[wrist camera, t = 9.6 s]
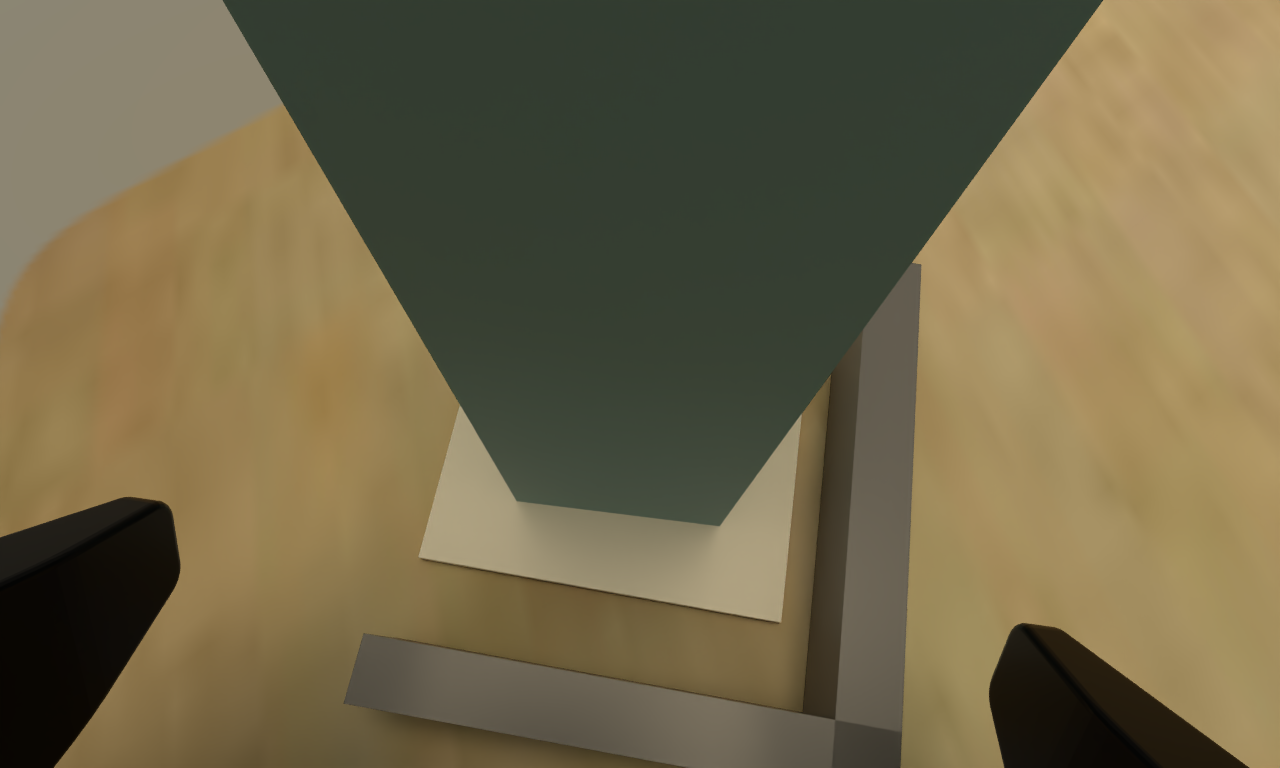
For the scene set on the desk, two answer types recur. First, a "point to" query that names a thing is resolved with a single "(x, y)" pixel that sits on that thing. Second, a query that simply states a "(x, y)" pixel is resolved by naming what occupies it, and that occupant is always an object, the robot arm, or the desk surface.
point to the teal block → (648, 203)
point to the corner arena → (697, 590)
